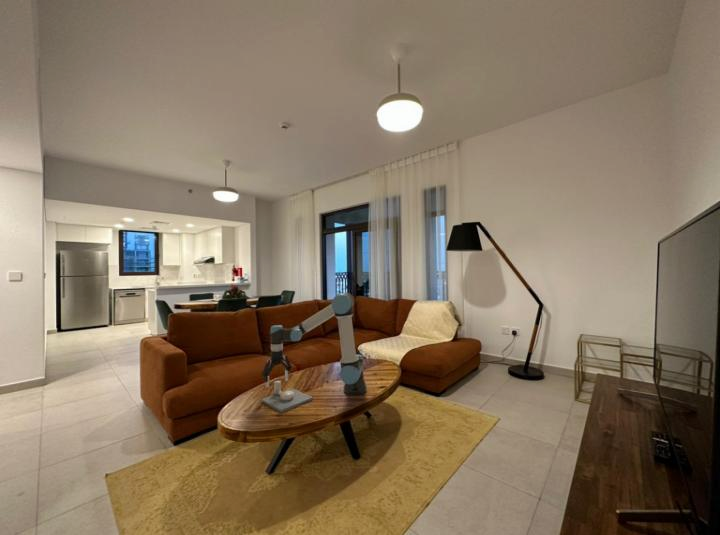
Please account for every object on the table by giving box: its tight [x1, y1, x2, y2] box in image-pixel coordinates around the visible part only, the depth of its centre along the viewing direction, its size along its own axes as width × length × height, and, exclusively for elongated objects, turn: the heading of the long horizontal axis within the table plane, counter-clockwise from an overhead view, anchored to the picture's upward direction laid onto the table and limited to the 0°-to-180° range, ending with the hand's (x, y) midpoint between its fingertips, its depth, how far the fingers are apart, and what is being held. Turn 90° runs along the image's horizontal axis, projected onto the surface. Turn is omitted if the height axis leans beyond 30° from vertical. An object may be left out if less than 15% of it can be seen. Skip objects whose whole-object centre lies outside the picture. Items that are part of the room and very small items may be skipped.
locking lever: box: [273, 380, 294, 401], centre depth 177 cm, size 17×8×7 cm, turn 47°
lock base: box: [261, 388, 314, 414], centre depth 174 cm, size 22×22×2 cm
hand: (277, 383), depth 181 cm, fingers open, 13 cm apart
